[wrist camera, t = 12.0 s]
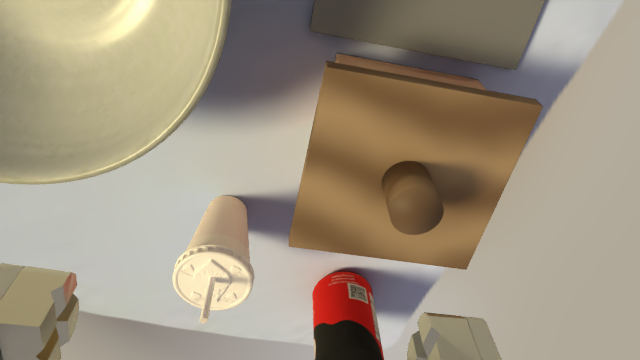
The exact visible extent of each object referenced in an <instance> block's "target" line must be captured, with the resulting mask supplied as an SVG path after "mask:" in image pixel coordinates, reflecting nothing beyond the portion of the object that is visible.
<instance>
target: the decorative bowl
mask: <svg viewBox="0 0 640 360" xmlns="http://www.w3.org/2000/svg"><path fill="white" fill-rule="evenodd" d="M231 2H232V0H0V183H10V184H53V183H63V182H70V181H75V180H81V179H85V178H89V177H94V176H97V175H100V174H103V173H106V172H109V171H112V170H115V169H117V168H119V167H122V166H124V165H126V164H128V163H130V162H132V161H134V160H136V159H138V158H140V157H141V156H143V155H144V154H146V153H147V152H149V151H151V150H152V149H154V148H155V147H156V146H157V145H159V144H160V143H161V142H163V141H164V140H165V139H166V138H167V137H169V136H170V135H171V134H172V133H173V132H174V131H175V130H176V129H177V128H178V127H179V126H180V125H181V124H182V123H183V121H184V120H185V119H186V118H187V117H188V116H189V114H190V113H191V112H192V110H193V109H194V108H195V106H196V105H197V103H198V102H199V100H200V99H201V97H202V95H203V94H204V92H205V90H206V88H207V86H208V84H209V82H210V80H211V78H212V77H213V74H214V72H215V69H216V67H217V64H218V62H219V59H220V56H221V52H222V49H223V46H224V42H225V38H226V34H227V29H228V24H229V18H230V10H231Z"/></svg>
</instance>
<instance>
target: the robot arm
mask: <svg viewBox="0 0 640 360" xmlns="http://www.w3.org/2000/svg"><path fill="white" fill-rule="evenodd" d="M76 286H77V281H76V274H74V273H72V272H65V271H57V270H50V269H43V268H36V267H29V266H18V265H11V264H4V263H2V264H1V265H0V360H60V359H61V352H60V347H61V346H62V345H64V344H65V343H66V342H68V341H70V338H71V336H72V334H73V332H74V329H75V326H76V322H77V318H78V312H79V301H78V298H77V297H76V296H75V295H74V294H73V292H74V290H75V288H76ZM418 327H419V331H418V332H416V333H415V334H413V335H412V337H411V339H410V342H409V345H408V353H407V360H502V359H501V357H500V355H499V352H498V350H497V347H496V345H495V342H494V340H493V338H492V335H491V333H490V330H489V328H488V325H487V323H486V321H485V320H484V319H482V318H473V317H461V316H454V315H444V314H435V313H423V314H422V315H421V316H420V318H419V321H418Z"/></svg>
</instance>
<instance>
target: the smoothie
mask: <svg viewBox="0 0 640 360" xmlns="http://www.w3.org/2000/svg"><path fill="white" fill-rule="evenodd" d="M253 281H254V271H253V268H252V266H251V264H250V257H249V240H248V223H247V209H246V206H245V205H244V203H243V202H242V201H241V200H239V199H238V198H236V197H233V196H219V197H217V198H215V199H214V200H212V201H211V203H210V204H209V206H208V208H207V210H206V212H205V214H204V216H203V218H202V220H201V222H200V224H199V226H198V228H197V230H196V232H195V234H194V236H193V238H192V240H191V242H190V244H189V246H188V248H187V250H186V252H184V253H183V254H182V255H181V256H180V257H179V258H178V260H177V262H176V264H175V267H174V273H173V285H174V288H175V290H176V291H177V293H178V294H179V295H180V296H181V298H183V299H184V300H185V301H186V302H188V303H190V304H192V305H193V306H196V307H199V308H202V311H201V316H200V322H201V323H206V322H207V321H208V316H209V311H210V310H224V309H229V308H232V307H235V306H237V305H239V304H240V303H242V302H243V301H244V300H246V298H247V297H248V296H249V294H250V293H251V290H252V286H253Z"/></svg>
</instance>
